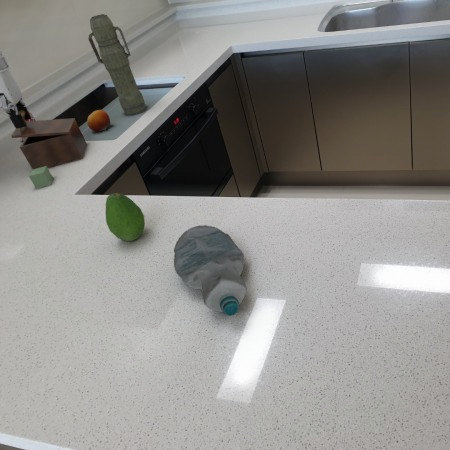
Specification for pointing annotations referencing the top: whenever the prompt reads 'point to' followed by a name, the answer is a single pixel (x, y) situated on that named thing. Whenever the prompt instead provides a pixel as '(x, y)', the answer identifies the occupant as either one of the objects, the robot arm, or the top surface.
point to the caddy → (54, 148)
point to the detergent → (211, 267)
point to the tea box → (41, 177)
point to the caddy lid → (44, 127)
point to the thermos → (116, 63)
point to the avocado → (124, 217)
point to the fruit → (98, 121)
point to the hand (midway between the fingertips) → (23, 122)
